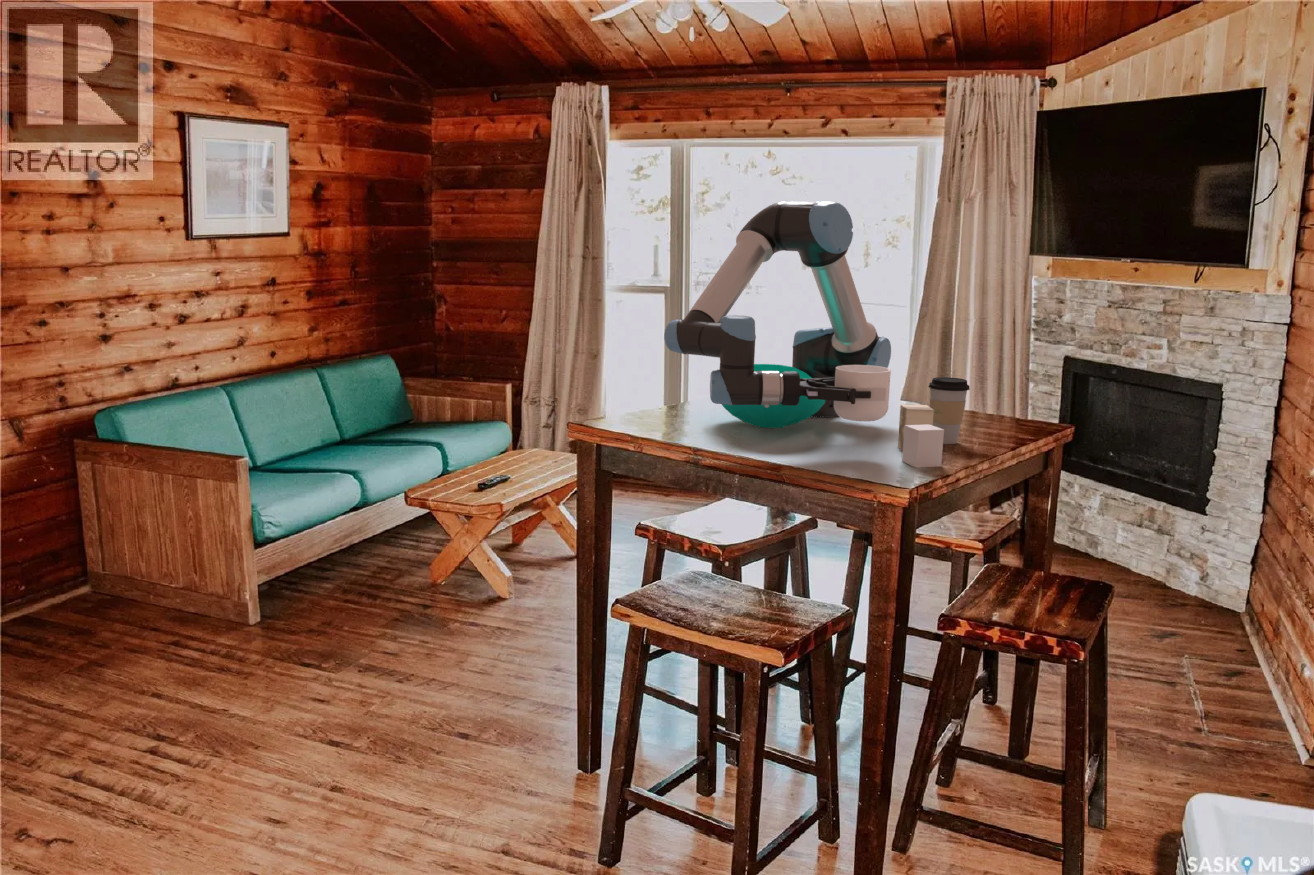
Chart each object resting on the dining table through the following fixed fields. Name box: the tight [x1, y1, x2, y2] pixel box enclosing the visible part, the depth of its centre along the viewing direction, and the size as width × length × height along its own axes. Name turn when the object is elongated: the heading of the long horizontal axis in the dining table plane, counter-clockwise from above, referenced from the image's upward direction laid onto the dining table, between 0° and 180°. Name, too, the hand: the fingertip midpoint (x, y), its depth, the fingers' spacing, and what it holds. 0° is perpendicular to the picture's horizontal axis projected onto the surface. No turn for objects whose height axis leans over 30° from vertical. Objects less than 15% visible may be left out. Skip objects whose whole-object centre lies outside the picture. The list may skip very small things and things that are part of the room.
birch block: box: [897, 404, 934, 452], centre depth 236 cm, size 6×6×10 cm
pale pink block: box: [901, 424, 944, 468], centre depth 222 cm, size 6×6×8 cm
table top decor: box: [721, 363, 825, 429], centre depth 261 cm, size 40×28×13 cm
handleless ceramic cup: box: [834, 365, 892, 422], centre depth 228 cm, size 12×12×11 cm
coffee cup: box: [928, 376, 971, 445], centre depth 246 cm, size 9×9×15 cm
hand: (878, 389), depth 228 cm, fingers closed on handleless ceramic cup, 12 cm apart
